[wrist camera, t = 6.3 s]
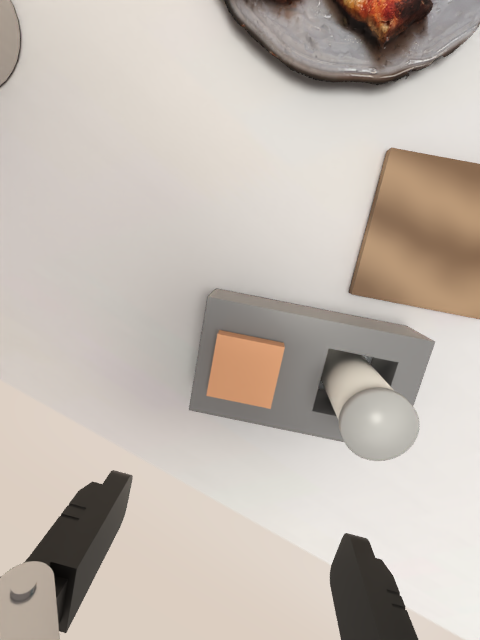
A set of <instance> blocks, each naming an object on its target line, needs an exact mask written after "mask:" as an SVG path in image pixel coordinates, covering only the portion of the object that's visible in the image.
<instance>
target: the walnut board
mask: <svg viewBox="0 0 480 640" xmlns="http://www.w3.org/2000/svg"><path fill="white" fill-rule="evenodd" d="M349 293H351V294H354V295H359V296H364V297H369V298H374V299H379V300H384V301H390V302H395V303H400V304H405V305H410V306H415V307H420V308H425V309H430V310H435V311H441V312H446V313H451V314H456V315H461V316H466V317H471V318H476V319H480V164H477V163H471V162H466V161H460V160H455V159H450V158H444V157H439V156H433V155H428V154H423V153H417V152H412V151H406V150H401V149H396V148H390V149H389V150H388V151H387V152H386V156H385V159H384V163H383V167H382V171H381V174H380V178H379V182H378V185H377V189H376V193H375V197H374V200H373V204H372V208H371V211H370V215H369V219H368V223H367V226H366V230H365V234H364V238H363V241H362V245H361V249H360V252H359V256H358V260H357V264H356V267H355V271H354V275H353V278H352V282H351V286H350V290H349Z"/></svg>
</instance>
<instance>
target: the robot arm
mask: <svg viewBox="0 0 480 640" xmlns="http://www.w3.org/2000/svg"><path fill="white" fill-rule="evenodd" d="M19 49H20V31H19V24H18V19H17V16H16V13H15V10H14V7H13V5H12V3H11V1H10V0H0V85H1V84H2V83H4V82H5V81H6V80H7V78H8V77H9V75H10V74H11V73H12V71H13V69H14V66H15V64H16V62H17V59H18V54H19ZM131 483H132V475H129V474H125V473H121V472H118V471H114V470H113V471H111V473H110V474H109V475H108V477H107V479H106V480H105V481H104V483H103V484H99V483H96V482H91V483H90V484H88V485H87V486H85V487H84V488H83V489H81V490H80V491H78V493H77V494H76V495H75V497H74V498H73V499H72V501H71V502H70V503H69V506H67V507H66V509H65V510H64V511H63V513H62V514H61V516H60V517H59V518H58V519H57V521H56V522H55V523H54V525H53V526H52V527H51V529H50V530H49V531H48V533H47V534H46V535H45V536H44V538H43V539H42V541H41V542H40V543H39V544H38V546H37V547H36V548H35V550H34V551H33V552H32V554H31V555H30V557H29V558H28V559H27V560H26V561H25V562H24V563H22V564H19V565H17V566H15V567H13V568H12V569H10V570H9V571H7V572H6V573H5V574H4V575H3V576H1V577H0V640H60V636H59V631H61V632H64V633H66V632H67V630H68V628H69V626H70V624H71V622H72V620H73V619H74V617H75V615H76V613H77V611H78V609H79V607H80V605H81V603H82V601H83V599H84V597H85V595H86V593H87V591H88V589H89V587H90V585H91V583H92V581H93V579H94V577H95V575H96V573H97V571H98V569H99V567H100V565H101V563H102V561H103V559H104V558H105V555H106V554H107V552H108V550H109V548H110V546H111V544H112V542H113V540H114V538H115V536H116V534H117V532H118V530H119V528H120V526H121V523H122V521H123V518H124V515H125V511H126V508H127V503H128V498H129V493H130V488H131ZM330 586H331V591H332V596H333V601H334V606H335V611H336V616H337V621H338V626H339V631H340V636H341V640H418V638H417V635H416V633H415V630H414V628H413V626H412V622H411V620H410V617H409V615H408V612H407V611H406V610H405V605H404V602H403V600H402V597H401V596H400V592H399V590H398V587H397V585H396V582H395V580H394V577H393V575H392V574H391V572H390V571H389V569H388V568H387V567H386V565H385V564H384V562H383V561H382V560H381V559H377V558H375V556H374V553H373V550H372V548H371V545H370V542H369V541H368V539H366V538H363V537H359V536H355V535H351V534H348V533H346V534H344V536H343V538H342V540H341V543H340V545H339V548H338V550H337V553H336V555H335V558H334V560H333V563H332V565H331V570H330Z"/></svg>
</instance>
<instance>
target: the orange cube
mask: <svg viewBox="0 0 480 640" xmlns="http://www.w3.org/2000/svg"><path fill="white" fill-rule="evenodd" d="M284 349H285V346H284V343H282V342H277V341H272V340H267V339H262V338H257V337H252V336H247V335H242V334H237V333H232V332H227V331H222V330H219V332H218V334H217V339H216V344H215V350H214V356H213V361H212V367H211V372H210V378H209V384H208V389H207V395H206V396H210V397H215V398H220V399H225V400H229V401H234V402H239V403H244V404H249V405H254V406H259V407H264V408H268V409H271V405H272V401H273V396H274V392H275V388H276V383H277V379H278V375H279V371H280V366H281V362H282V358H283V353H284Z"/></svg>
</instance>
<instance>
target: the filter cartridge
mask: <svg viewBox="0 0 480 640" xmlns="http://www.w3.org/2000/svg"><path fill="white" fill-rule="evenodd" d="M321 381H322V383H323V386H324V388H325V390H326V393H327V395H328V397H329V400H330V402H331V404H332V406H333V409H334V411H335V413H336V416H337V418H338V420H339V429H340V432H341V435H342V437H343V440H344V442H345V444H346V445H347V447H348V448H349V449H350V450H351V451H352V452H353V453H355V454H356V455H358V456H359V457H361V458H364V459H367V460H372V461H385V460H390V459H393V458H396V457H398V456H400V455H401V454H403V453H404V452H406V451H407V450H408V449H409V448H410V447H411V446H412V445H413V443H414V442H415V440H416V438H417V436H418V432H419V418H418V415H417V412H416V410H415V409H414V407H413V406H412V405H411V404H410V403H409V402H408V401H407V400H406V398H405V397H404V396H402V395H401V394H400V393H398V392H396V391H394V390H393V389H392V388H391V387H390V385H389V384H388V383H387V382H386V381H385V380H384V379H383V378H382V377H381V375H380V374H379V373H378V372H377V371H376V370H375V369H374V368H373V367H372V366H371V364H370V363H369V362H368V361H367V360H366V359H365V358H364V357H363V356H362V355H359V354H354V353H349V352H344V351H339V350H334V349H328V353H327V357H326V360H325V364H324V368H323V372H322V376H321Z"/></svg>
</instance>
